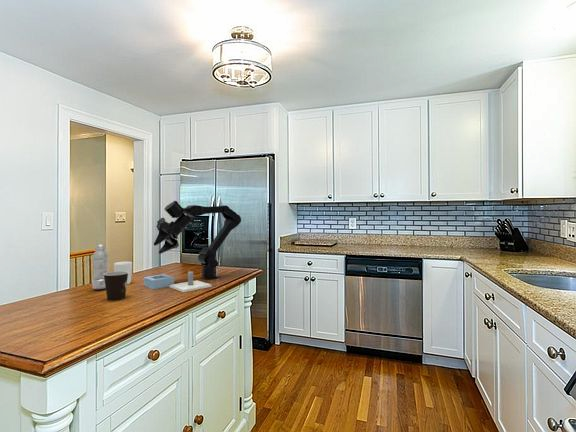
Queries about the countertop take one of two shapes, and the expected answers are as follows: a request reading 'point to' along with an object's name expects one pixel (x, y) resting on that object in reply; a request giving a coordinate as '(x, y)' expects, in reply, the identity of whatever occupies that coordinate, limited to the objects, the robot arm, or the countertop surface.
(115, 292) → the coffee mug
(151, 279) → the loop frame
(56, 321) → the countertop surface
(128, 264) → the white cup
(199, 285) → the white base with peg
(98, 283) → the plastic bottle
